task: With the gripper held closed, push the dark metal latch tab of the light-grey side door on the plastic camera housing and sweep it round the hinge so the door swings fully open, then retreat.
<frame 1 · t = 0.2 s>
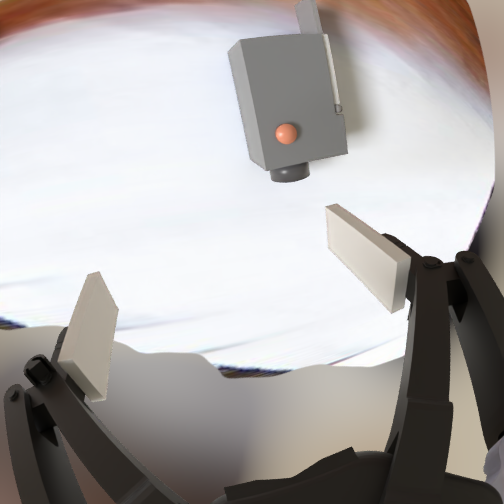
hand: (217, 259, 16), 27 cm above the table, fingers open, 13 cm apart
side door: (315, 53, 33), point 4 cm above the table, hinge at 0.0°
housing: (273, 99, 38), on the table
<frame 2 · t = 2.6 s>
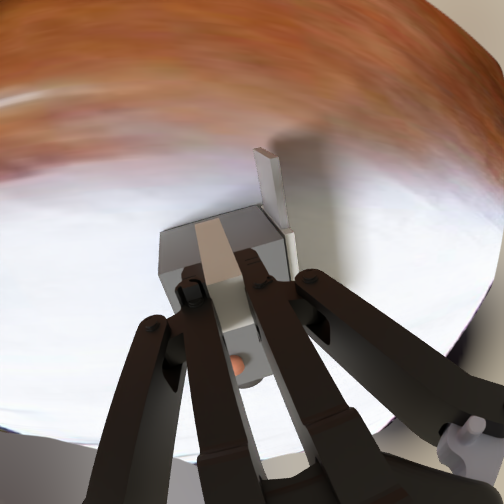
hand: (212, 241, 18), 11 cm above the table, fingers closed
side door: (279, 239, 28), point 4 cm above the table, hinge at 0.0°
housing: (226, 282, 34), on the table
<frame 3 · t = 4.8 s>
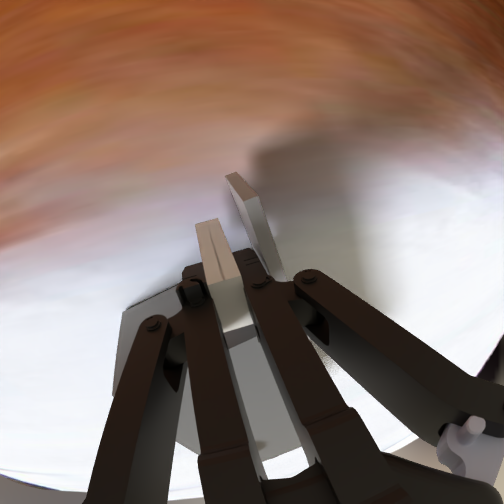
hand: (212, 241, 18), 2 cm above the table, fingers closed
side door: (282, 301, 19), point 4 cm above the table, hinge at 3.6°, touching gripper
housing: (224, 350, 25), on the table
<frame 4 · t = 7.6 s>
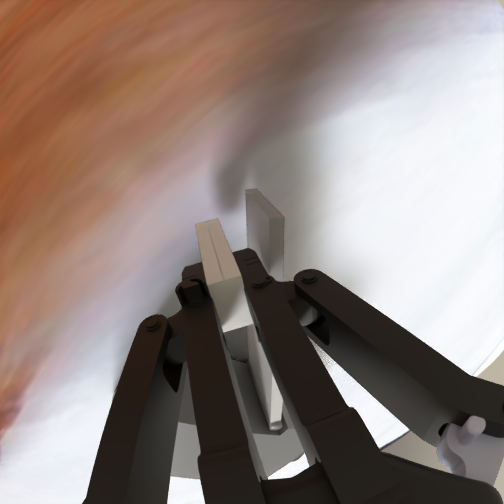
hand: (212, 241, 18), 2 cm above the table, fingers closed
side door: (263, 323, 20), point 4 cm above the table, hinge at 54.9°, touching gripper
housing: (204, 390, 27), on the table
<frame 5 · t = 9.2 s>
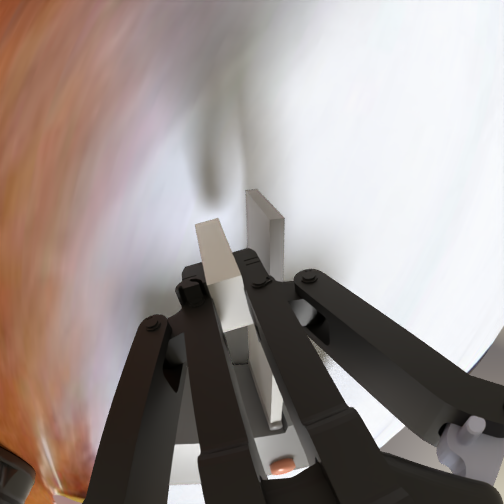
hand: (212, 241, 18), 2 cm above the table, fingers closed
side door: (263, 323, 20), point 4 cm above the table, hinge at 80.8°, touching gripper
housing: (226, 396, 28), on the table
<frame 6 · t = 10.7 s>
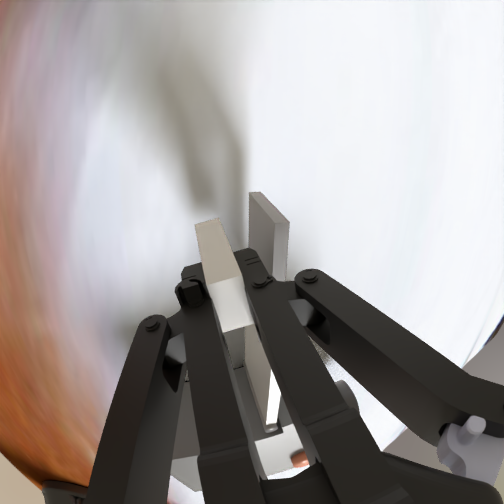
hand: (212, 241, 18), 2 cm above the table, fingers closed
side door: (262, 325, 20), point 4 cm above the table, hinge at 101.5°
housing: (240, 398, 29), on the table
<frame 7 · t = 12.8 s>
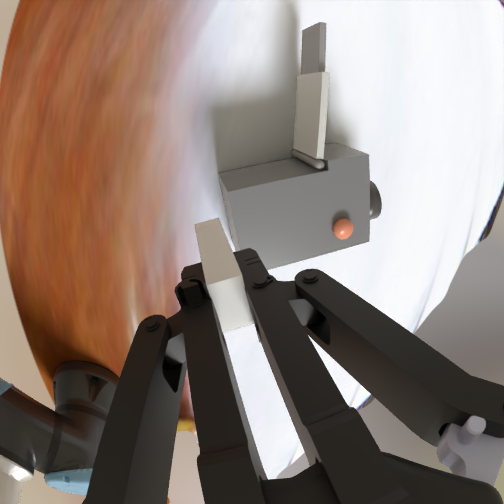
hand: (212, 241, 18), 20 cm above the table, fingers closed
side door: (310, 92, 30), point 4 cm above the table, hinge at 101.5°
housing: (285, 196, 39), on the table
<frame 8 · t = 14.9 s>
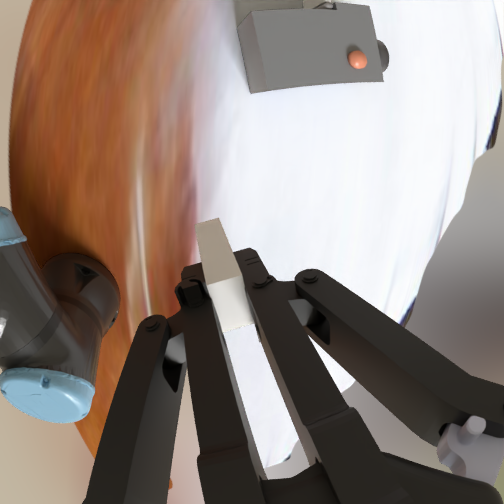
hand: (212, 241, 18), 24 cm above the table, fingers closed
housing: (298, 53, 35), on the table
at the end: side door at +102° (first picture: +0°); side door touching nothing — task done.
